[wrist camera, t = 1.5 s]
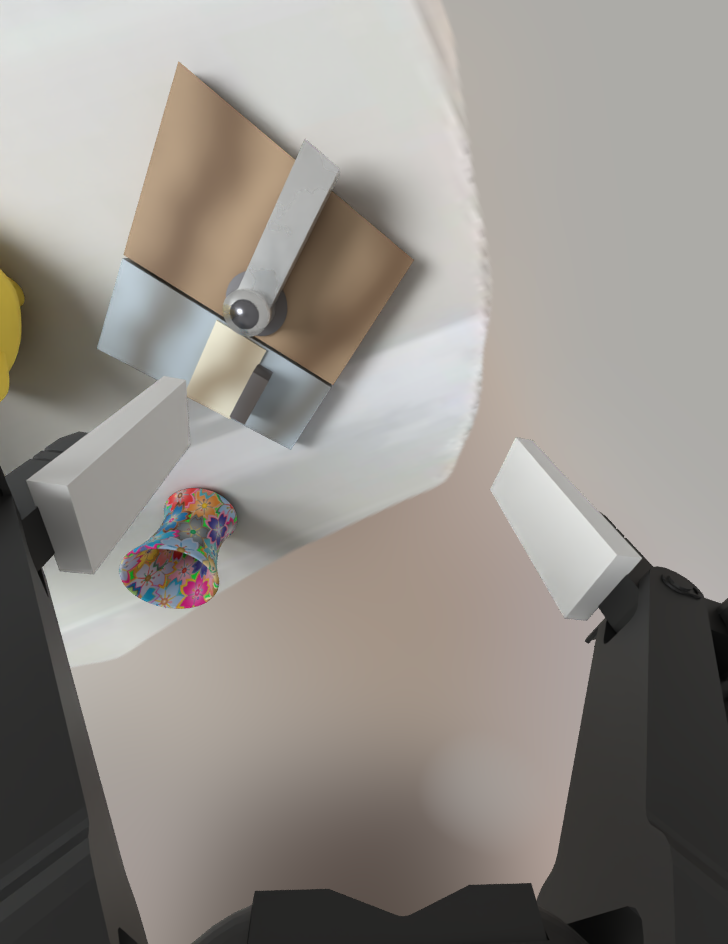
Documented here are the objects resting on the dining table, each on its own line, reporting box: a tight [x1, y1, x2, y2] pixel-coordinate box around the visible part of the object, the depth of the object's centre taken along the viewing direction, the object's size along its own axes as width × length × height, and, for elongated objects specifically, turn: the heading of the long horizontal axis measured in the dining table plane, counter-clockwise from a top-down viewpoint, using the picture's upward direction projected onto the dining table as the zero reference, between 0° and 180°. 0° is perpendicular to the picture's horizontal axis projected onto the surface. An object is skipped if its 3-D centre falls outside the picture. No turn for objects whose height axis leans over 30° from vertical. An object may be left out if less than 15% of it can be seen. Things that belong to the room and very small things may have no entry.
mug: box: [119, 488, 237, 609], centre depth 40 cm, size 12×9×11 cm
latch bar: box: [223, 139, 340, 337], centre depth 26 cm, size 13×3×4 cm, turn 146°
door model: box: [97, 61, 414, 450], centre depth 30 cm, size 19×21×4 cm
